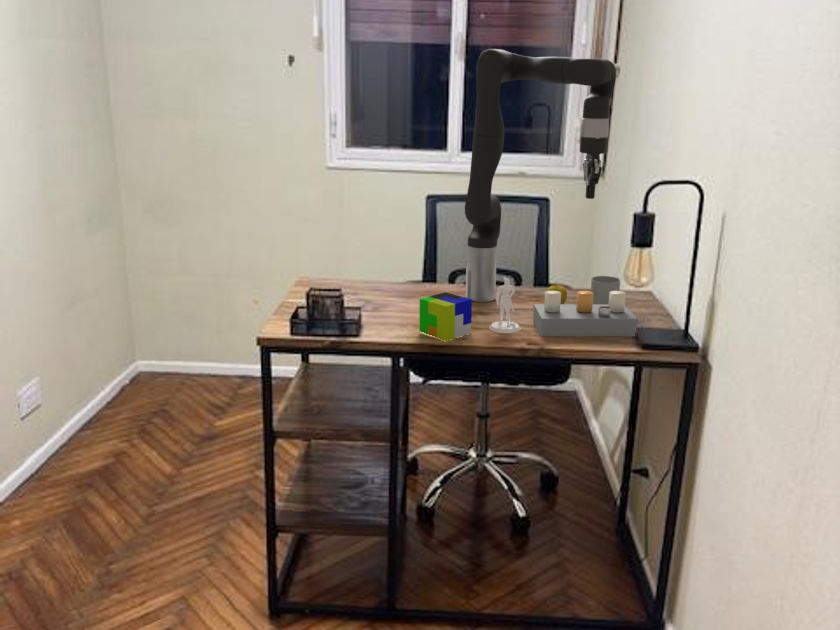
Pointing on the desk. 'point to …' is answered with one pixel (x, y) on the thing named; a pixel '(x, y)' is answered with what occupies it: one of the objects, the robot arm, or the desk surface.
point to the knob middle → (584, 301)
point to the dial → (604, 311)
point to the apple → (559, 289)
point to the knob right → (617, 301)
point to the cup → (603, 288)
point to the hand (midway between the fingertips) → (589, 198)
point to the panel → (583, 322)
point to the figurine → (507, 303)
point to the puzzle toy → (445, 316)
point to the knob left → (552, 301)
